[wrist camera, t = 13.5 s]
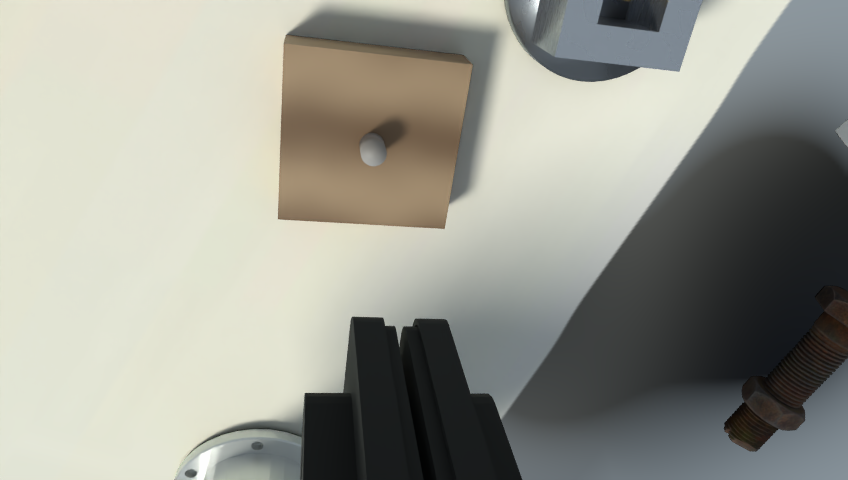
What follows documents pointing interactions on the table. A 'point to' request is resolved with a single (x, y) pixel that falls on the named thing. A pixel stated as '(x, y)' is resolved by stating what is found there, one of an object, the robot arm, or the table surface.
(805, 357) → the bolt
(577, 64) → the hub
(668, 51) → the square hollow frame
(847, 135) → the hinge
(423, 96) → the stand
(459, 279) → the table surface
